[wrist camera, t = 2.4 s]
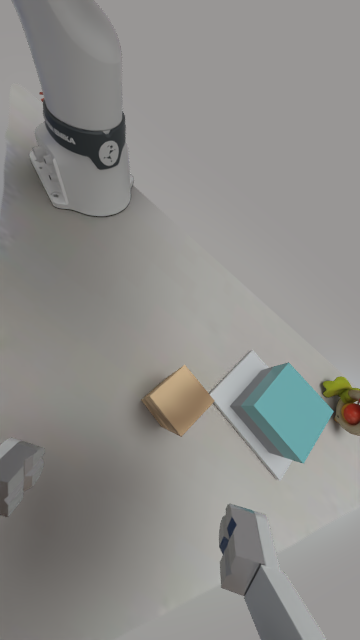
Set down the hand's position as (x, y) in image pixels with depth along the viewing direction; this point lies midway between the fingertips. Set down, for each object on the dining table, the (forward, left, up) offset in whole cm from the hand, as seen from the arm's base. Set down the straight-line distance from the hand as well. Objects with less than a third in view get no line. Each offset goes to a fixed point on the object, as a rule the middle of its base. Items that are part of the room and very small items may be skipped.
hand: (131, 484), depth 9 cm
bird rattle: (+23, +31, -24) cm, 45 cm away
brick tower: (+13, +19, -24) cm, 33 cm away
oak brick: (+1, +7, -24) cm, 25 cm away
